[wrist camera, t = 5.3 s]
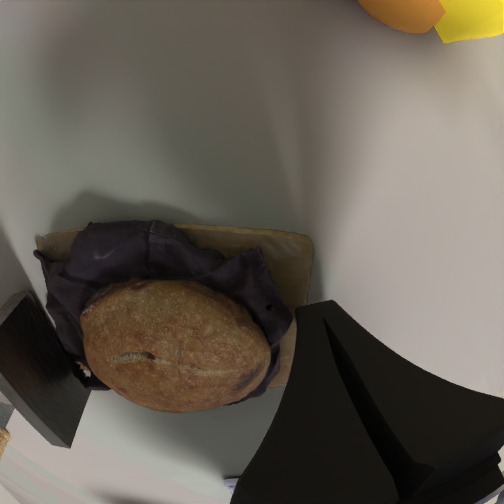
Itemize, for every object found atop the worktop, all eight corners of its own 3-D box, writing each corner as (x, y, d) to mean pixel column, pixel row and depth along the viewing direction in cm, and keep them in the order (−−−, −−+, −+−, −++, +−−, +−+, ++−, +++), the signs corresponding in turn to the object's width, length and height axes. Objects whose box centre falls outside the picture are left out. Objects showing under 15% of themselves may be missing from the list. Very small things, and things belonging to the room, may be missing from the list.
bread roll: (316, 215, 10) (354, 265, 7) (286, 383, 14) (298, 446, 10) (34, 211, 9) (-25, 252, 6) (79, 369, 13) (56, 423, 10)
